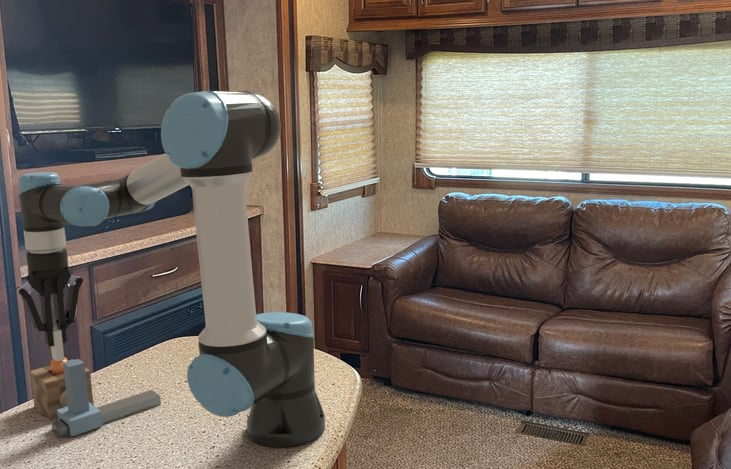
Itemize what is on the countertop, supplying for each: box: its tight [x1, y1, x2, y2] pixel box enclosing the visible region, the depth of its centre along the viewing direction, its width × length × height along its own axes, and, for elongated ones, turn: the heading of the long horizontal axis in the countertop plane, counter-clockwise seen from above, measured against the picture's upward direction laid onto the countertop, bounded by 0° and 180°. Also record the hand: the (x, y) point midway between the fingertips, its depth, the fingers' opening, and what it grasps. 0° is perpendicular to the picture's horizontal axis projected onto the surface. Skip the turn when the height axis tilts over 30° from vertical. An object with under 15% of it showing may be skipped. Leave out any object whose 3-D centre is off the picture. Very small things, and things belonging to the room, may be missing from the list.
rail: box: [51, 389, 162, 440], centre depth 141 cm, size 4×21×2 cm, turn 134°
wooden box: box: [29, 359, 95, 421], centre depth 146 cm, size 10×9×8 cm
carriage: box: [57, 358, 104, 437], centre depth 136 cm, size 7×6×13 cm
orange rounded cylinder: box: [50, 357, 68, 376], centre depth 145 cm, size 3×3×3 cm
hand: (58, 359), depth 145 cm, fingers closed
